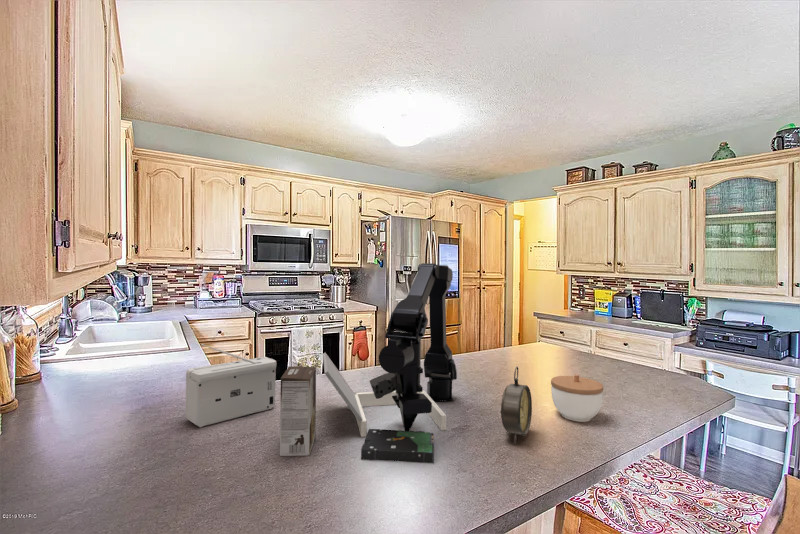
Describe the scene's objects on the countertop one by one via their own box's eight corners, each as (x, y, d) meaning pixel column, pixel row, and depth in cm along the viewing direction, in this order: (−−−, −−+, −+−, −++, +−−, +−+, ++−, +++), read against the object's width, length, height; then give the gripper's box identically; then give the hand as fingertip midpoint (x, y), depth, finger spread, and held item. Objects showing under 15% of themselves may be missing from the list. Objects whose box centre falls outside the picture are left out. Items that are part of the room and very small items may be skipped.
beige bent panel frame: (423, 401, 113) (423, 348, 113) (446, 430, 93) (447, 366, 93) (321, 407, 107) (322, 352, 107) (323, 439, 87) (324, 371, 87)
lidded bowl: (598, 411, 107) (599, 371, 107) (606, 429, 95) (607, 384, 95) (549, 405, 111) (550, 366, 111) (551, 422, 99) (552, 378, 99)
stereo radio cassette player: (264, 401, 111) (266, 331, 111) (278, 409, 105) (279, 335, 105) (184, 421, 97) (185, 340, 97) (194, 431, 91) (196, 345, 91)
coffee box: (287, 437, 88) (288, 365, 88) (316, 436, 89) (317, 365, 89) (278, 456, 79) (279, 377, 79) (310, 456, 80) (311, 377, 80)
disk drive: (360, 463, 79) (434, 466, 78) (360, 449, 79) (434, 452, 78) (368, 440, 89) (433, 442, 88) (368, 428, 89) (433, 430, 88)
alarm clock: (520, 448, 85) (522, 373, 85) (496, 442, 88) (497, 369, 88) (532, 430, 94) (534, 363, 94) (510, 425, 97) (511, 360, 97)
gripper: (367, 354, 96) (366, 417, 96) (379, 375, 78) (378, 453, 78) (411, 352, 99) (410, 414, 99) (433, 372, 80) (431, 448, 80)
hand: (406, 430), depth 89 cm, fingers closed
